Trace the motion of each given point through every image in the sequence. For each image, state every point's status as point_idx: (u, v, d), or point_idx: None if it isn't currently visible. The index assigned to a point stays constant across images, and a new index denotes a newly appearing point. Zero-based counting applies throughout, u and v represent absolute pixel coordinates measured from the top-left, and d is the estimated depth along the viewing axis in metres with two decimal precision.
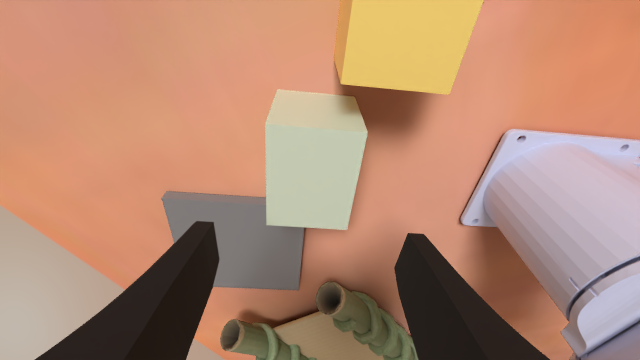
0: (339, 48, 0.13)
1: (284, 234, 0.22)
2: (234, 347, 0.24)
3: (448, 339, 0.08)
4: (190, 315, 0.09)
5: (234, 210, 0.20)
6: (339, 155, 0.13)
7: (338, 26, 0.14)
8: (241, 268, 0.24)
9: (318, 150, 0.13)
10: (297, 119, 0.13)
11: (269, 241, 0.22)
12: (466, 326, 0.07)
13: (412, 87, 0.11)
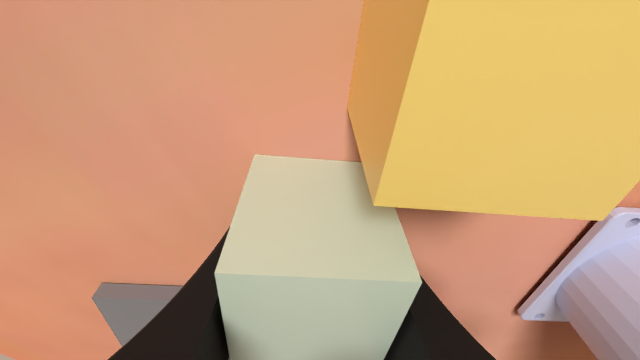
0: (363, 110, 0.06)
1: None
2: None
3: (402, 338, 0.08)
4: None
5: None
6: (363, 311, 0.07)
7: (358, 61, 0.08)
8: None
9: (322, 306, 0.07)
10: (282, 246, 0.07)
11: None
12: (415, 324, 0.07)
13: (528, 210, 0.05)
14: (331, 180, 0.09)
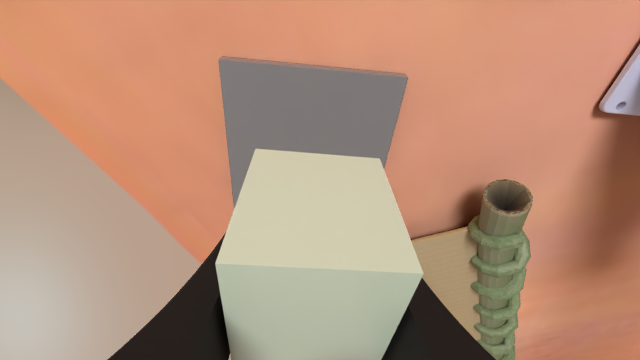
0: None
1: (370, 124, 0.17)
2: None
3: (402, 338, 0.08)
4: None
5: (312, 81, 0.15)
6: (364, 304, 0.07)
7: None
8: None
9: (323, 298, 0.07)
10: (283, 237, 0.07)
11: (349, 136, 0.17)
12: (415, 324, 0.07)
13: None
14: (332, 174, 0.09)
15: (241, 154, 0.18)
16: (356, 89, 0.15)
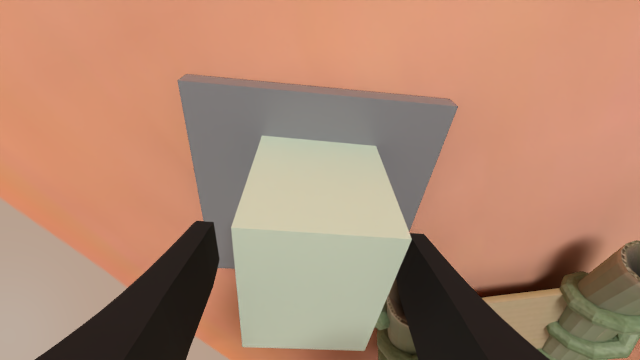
0: None
1: (398, 168, 0.12)
2: None
3: (448, 339, 0.08)
4: (190, 315, 0.09)
5: (318, 111, 0.10)
6: (360, 268, 0.08)
7: None
8: None
9: (324, 262, 0.08)
10: (289, 208, 0.08)
11: None
12: (466, 326, 0.07)
13: None
14: (332, 158, 0.10)
15: (218, 206, 0.13)
16: (381, 122, 0.11)
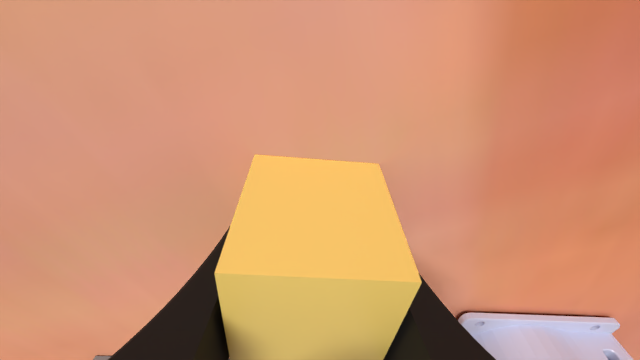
0: None
1: None
2: None
3: (402, 338, 0.08)
4: None
5: None
6: None
7: None
8: None
9: None
10: None
11: None
12: (415, 324, 0.07)
13: None
14: None
15: None
16: None
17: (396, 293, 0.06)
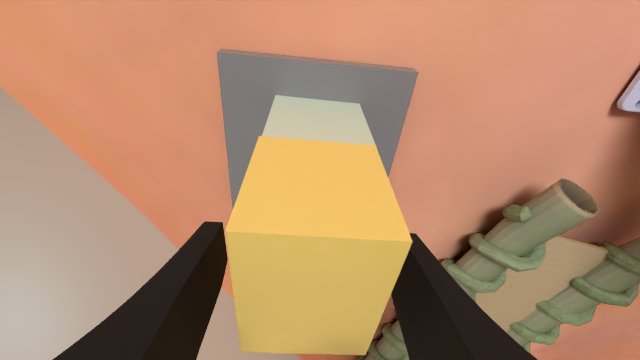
0: None
1: (377, 122, 0.16)
2: (595, 215, 0.15)
3: (437, 339, 0.08)
4: (200, 315, 0.09)
5: (317, 76, 0.14)
6: None
7: None
8: None
9: None
10: (297, 131, 0.12)
11: None
12: (454, 326, 0.07)
13: (322, 352, 0.10)
14: (326, 109, 0.14)
15: (240, 153, 0.17)
16: (362, 84, 0.15)
17: (389, 253, 0.07)
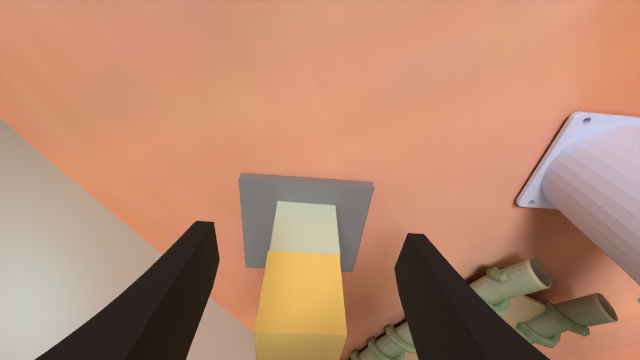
0: None
1: (348, 215, 0.23)
2: (548, 287, 0.23)
3: (448, 339, 0.08)
4: (190, 315, 0.09)
5: (305, 191, 0.21)
6: None
7: None
8: None
9: None
10: (291, 242, 0.18)
11: None
12: (466, 326, 0.07)
13: None
14: (312, 214, 0.21)
15: (252, 233, 0.24)
16: (336, 195, 0.22)
17: (336, 339, 0.14)
